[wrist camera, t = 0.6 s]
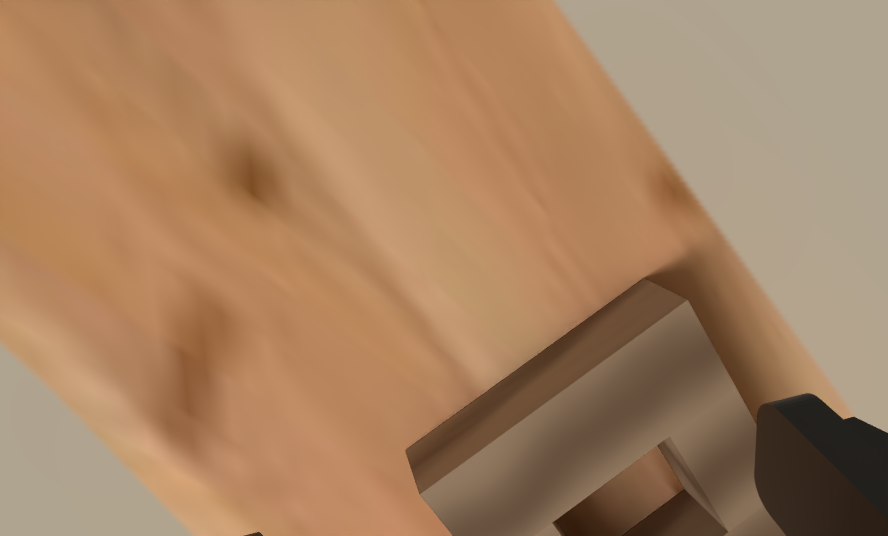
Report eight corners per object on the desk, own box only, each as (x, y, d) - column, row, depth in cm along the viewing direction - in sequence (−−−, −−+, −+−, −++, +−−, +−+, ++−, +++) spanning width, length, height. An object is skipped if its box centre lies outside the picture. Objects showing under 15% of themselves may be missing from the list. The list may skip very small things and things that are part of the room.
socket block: (405, 450, 33) (419, 494, 30) (643, 278, 34) (687, 299, 30) (575, 663, 39) (605, 723, 35) (777, 512, 40) (828, 554, 36)
